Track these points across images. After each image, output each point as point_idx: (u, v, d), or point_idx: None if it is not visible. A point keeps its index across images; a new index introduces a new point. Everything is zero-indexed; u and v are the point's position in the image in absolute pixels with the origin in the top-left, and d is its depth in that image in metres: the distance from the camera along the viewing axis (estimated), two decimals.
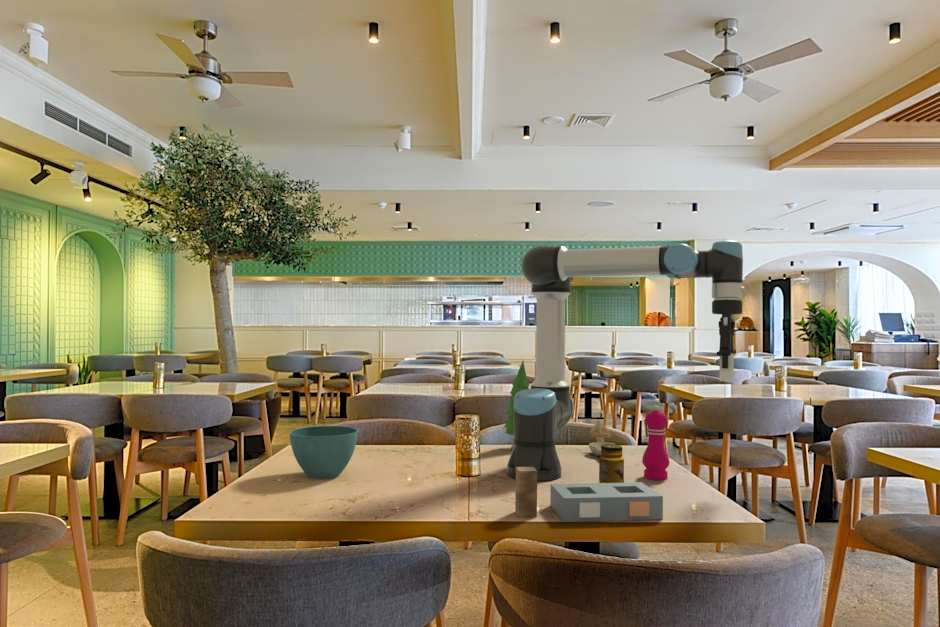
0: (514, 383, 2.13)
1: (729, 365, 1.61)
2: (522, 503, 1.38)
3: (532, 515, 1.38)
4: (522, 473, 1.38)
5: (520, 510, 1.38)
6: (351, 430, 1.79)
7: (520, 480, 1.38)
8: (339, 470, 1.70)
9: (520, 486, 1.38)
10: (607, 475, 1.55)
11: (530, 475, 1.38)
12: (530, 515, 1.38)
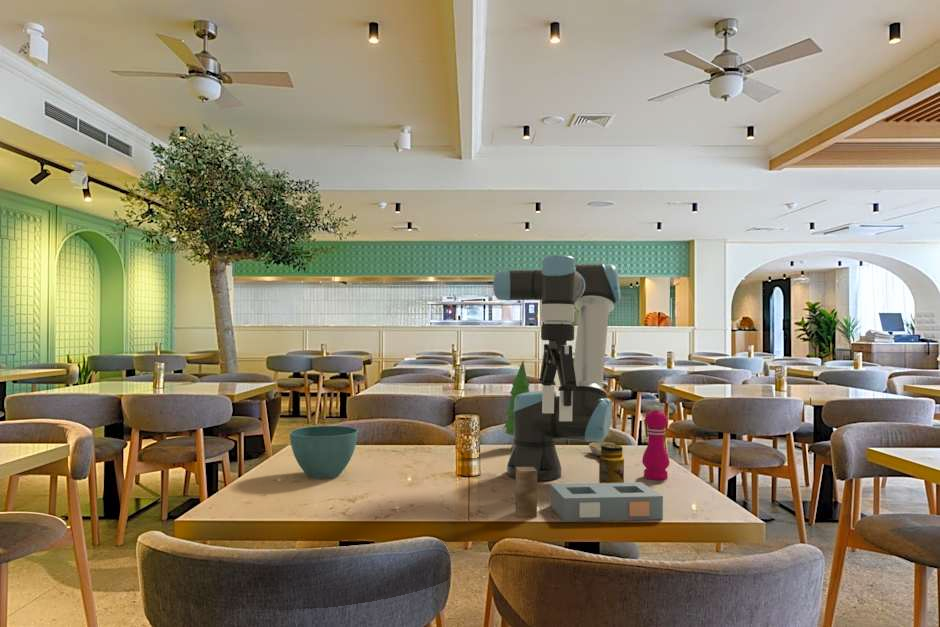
0: (514, 383, 2.13)
1: (571, 402, 1.36)
2: (522, 503, 1.38)
3: (532, 515, 1.38)
4: (522, 473, 1.38)
5: (520, 510, 1.38)
6: (351, 430, 1.79)
7: (520, 480, 1.38)
8: (339, 470, 1.70)
9: (520, 486, 1.38)
10: (607, 475, 1.55)
11: (530, 475, 1.38)
12: (530, 515, 1.38)
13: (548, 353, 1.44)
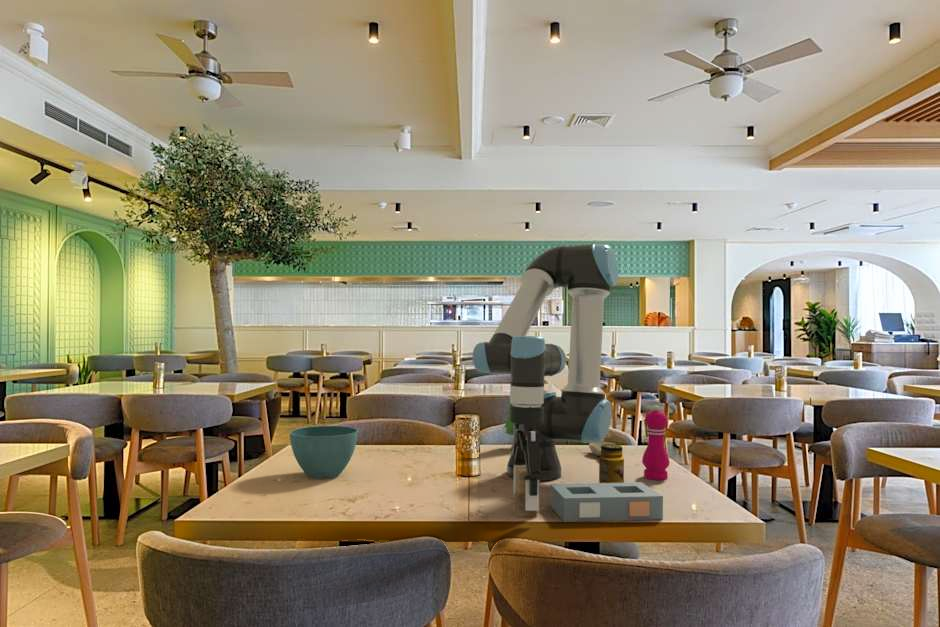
0: None
1: (537, 490, 1.33)
2: (522, 503, 1.38)
3: (532, 515, 1.38)
4: (522, 473, 1.38)
5: (520, 510, 1.38)
6: (351, 430, 1.79)
7: (520, 480, 1.38)
8: (339, 470, 1.70)
9: (520, 486, 1.38)
10: (607, 475, 1.55)
11: None
12: (530, 515, 1.38)
13: (517, 435, 1.41)
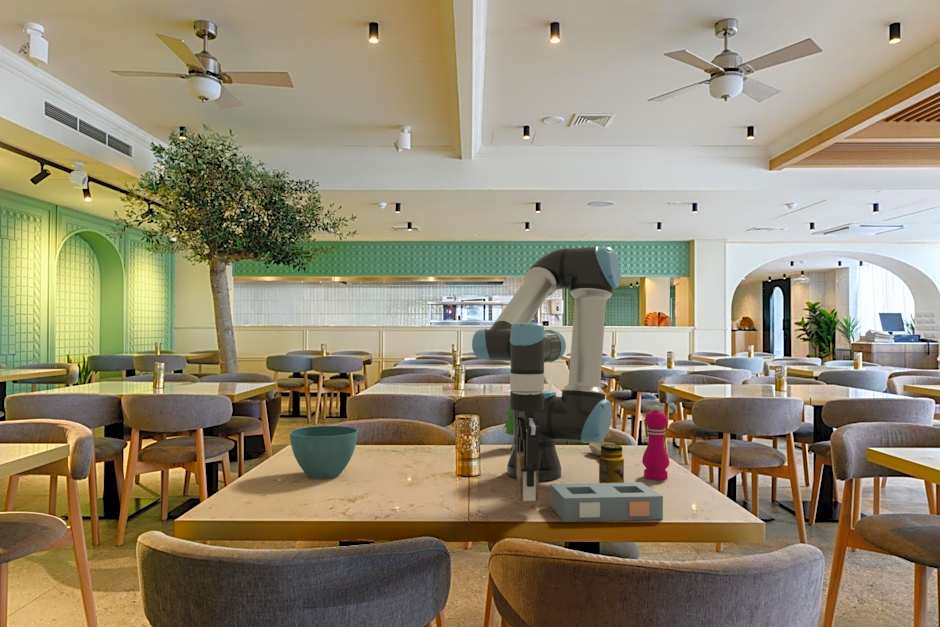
0: None
1: (534, 482, 1.38)
2: None
3: None
4: (523, 457, 1.38)
5: (521, 495, 1.38)
6: (351, 430, 1.79)
7: (521, 465, 1.38)
8: (339, 470, 1.70)
9: None
10: (607, 475, 1.55)
11: None
12: None
13: (518, 421, 1.41)
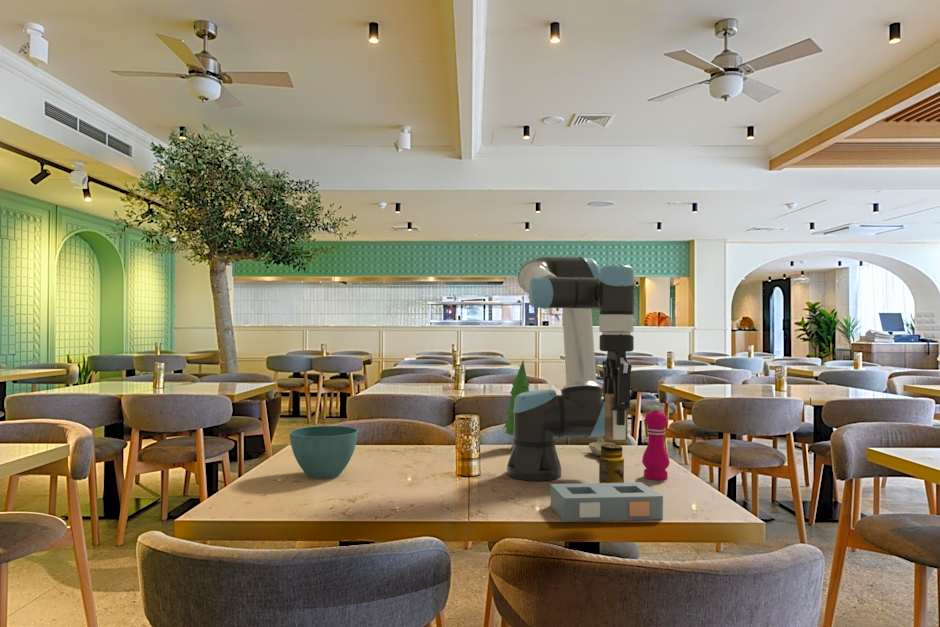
0: (514, 383, 2.13)
1: None
2: None
3: None
4: (613, 397, 1.40)
5: (611, 434, 1.40)
6: (351, 430, 1.79)
7: (611, 404, 1.40)
8: (339, 470, 1.70)
9: (611, 410, 1.40)
10: (607, 475, 1.55)
11: None
12: None
13: (607, 363, 1.43)
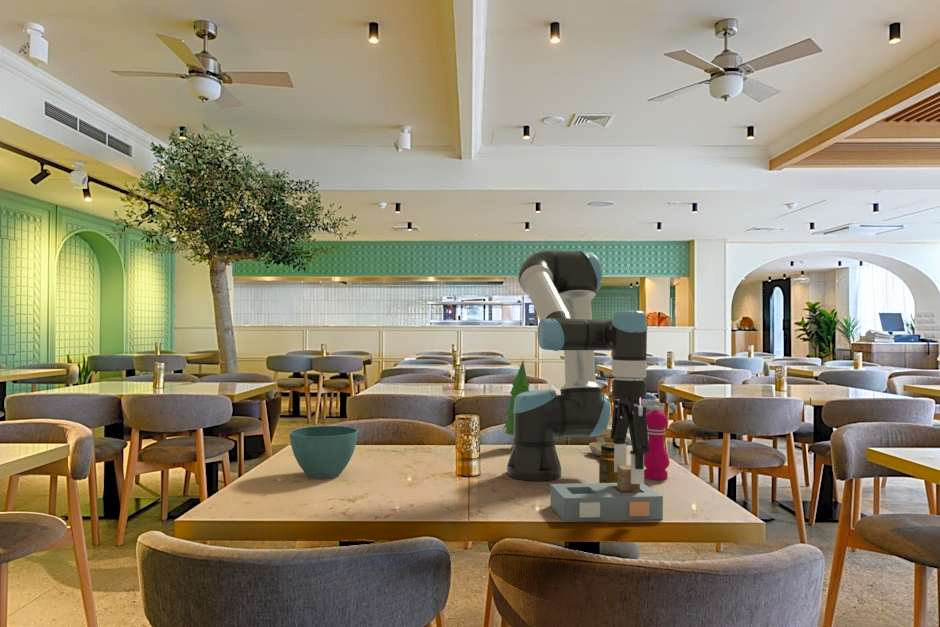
0: (514, 383, 2.13)
1: (642, 464, 1.37)
2: None
3: None
4: (625, 471, 1.41)
5: None
6: (351, 430, 1.79)
7: (623, 478, 1.41)
8: (339, 470, 1.70)
9: (623, 484, 1.41)
10: (607, 475, 1.55)
11: None
12: None
13: (620, 408, 1.44)
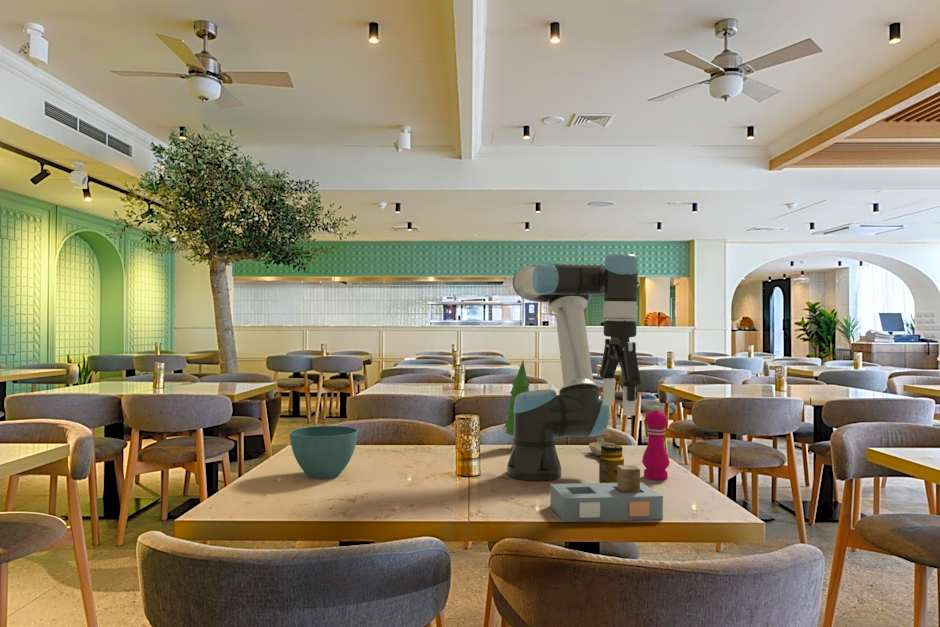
0: (514, 383, 2.13)
1: None
2: None
3: None
4: (625, 471, 1.41)
5: None
6: (351, 430, 1.79)
7: (623, 478, 1.41)
8: (339, 470, 1.70)
9: (623, 484, 1.41)
10: (607, 475, 1.55)
11: (633, 474, 1.41)
12: None
13: (610, 348, 1.49)
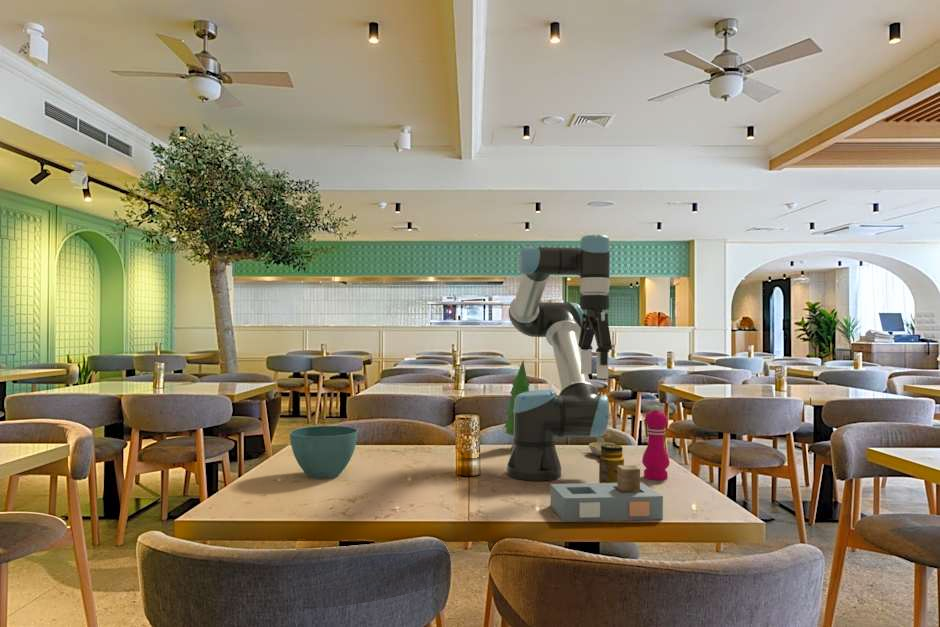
0: (514, 383, 2.13)
1: (607, 361, 1.58)
2: None
3: None
4: (626, 471, 1.41)
5: None
6: (351, 430, 1.79)
7: (623, 478, 1.41)
8: (339, 470, 1.70)
9: (623, 484, 1.41)
10: (607, 475, 1.55)
11: (633, 474, 1.41)
12: None
13: (586, 321, 1.66)
